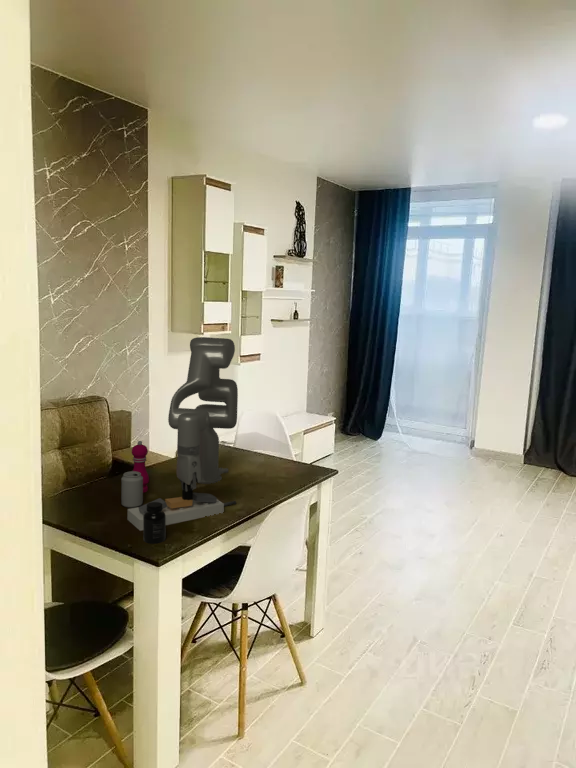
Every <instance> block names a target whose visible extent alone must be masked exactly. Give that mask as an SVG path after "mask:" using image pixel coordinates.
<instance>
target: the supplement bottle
mask: <svg viewBox="0 0 576 768" xmlns="http://www.w3.org/2000/svg"><path fill="white" fill-rule="evenodd" d="M150 502H151V503H149V502H147V503H148V504H147V503H146V504H147V509H146V511H147V512H146V513H145V514H144V516H143V530H142V531H143V533H142V534H143V535H142V537H143V542H145V544H149V545H155V544H156V545H157V544H161V543H163V542H165V541H166V539H167V538H166V536H167V533H166V529H167V528H166V526H167V525H166V515H165V513H164V512H163V511H162V510H163V508H162V503H160V502H152V501H150Z"/></svg>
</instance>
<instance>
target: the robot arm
mask: <svg viewBox="0 0 576 768" xmlns="http://www.w3.org/2000/svg"><path fill="white" fill-rule="evenodd" d="M189 349H190V357H189V364H188V371H187V376H186V377H187V378H186V381H185V383H184V384H182V385H181V386H179V388H178V389H177V390H176V391H175V392H174V394H173V396H172V398H171V400H170V404H169V411H168V418H167V420H168V421H167V422H168V425H169V427H170V428H171V429H173V430H177V439H176V440H177V441H176V442H177V443H176V445H177V447H176V452H177V453H176V454H177V459H176V477H177V479H178V480H179V481H180V483H181V490H182V491H181V497H182V499H183V500H193V493H194V490H195V489H197V484H205V485H210V484H211V483H212V484H216V482H217V483H219V482H221V481H222V479H223V478H222V474H227V473H229V468H228V467H226V468H225V467H224V468H223V467H219V450H220V449H219V448H220V446H219V445H220V438H219V435H218V433H217V432H216V430H215V429H225V430H227V429H228V430H230V429H234V428H235V427H236V425H237V422H238V401H239V400H238V399H239V398H238V397H239V395H238V394H239V393H238V384H237V381H235V379H234V380H233V379H230V378H221V377H220V370H221V369H223V370H225V369H227V368H229V366H230V365H231V363H232V360H233V358H234V357H235V351H236V346H235V342H234V341H233V340H232V339H231V338H226V337H225V338H224V337H223V338H220V337H207V336H203V337H202V336H201V337H200V336H198V337H194V338H191V340H190V342H189ZM196 394H198V395H197V396H198V398H199V399H200V401H203V402H211V403H224V404H210V403H205V404H199V405H197V406H195V408H186V407H185V408H183V407H180V405H181V403H182V402H183V401H184V400H185V399H187V398H189V397H191V396H193V395H196ZM220 480H221V481H220ZM218 481H219V482H218ZM212 484H211V485H212Z"/></svg>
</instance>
